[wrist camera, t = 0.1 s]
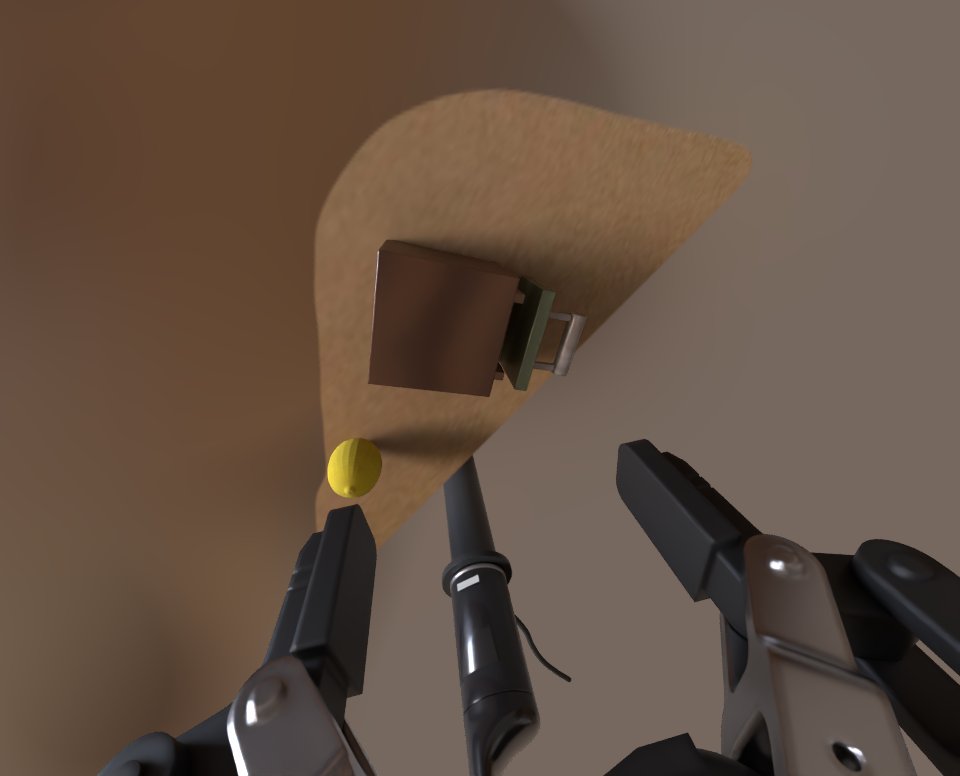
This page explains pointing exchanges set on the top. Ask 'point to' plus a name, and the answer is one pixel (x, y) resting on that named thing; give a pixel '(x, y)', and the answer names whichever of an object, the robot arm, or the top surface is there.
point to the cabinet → (438, 319)
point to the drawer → (536, 334)
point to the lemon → (354, 468)
